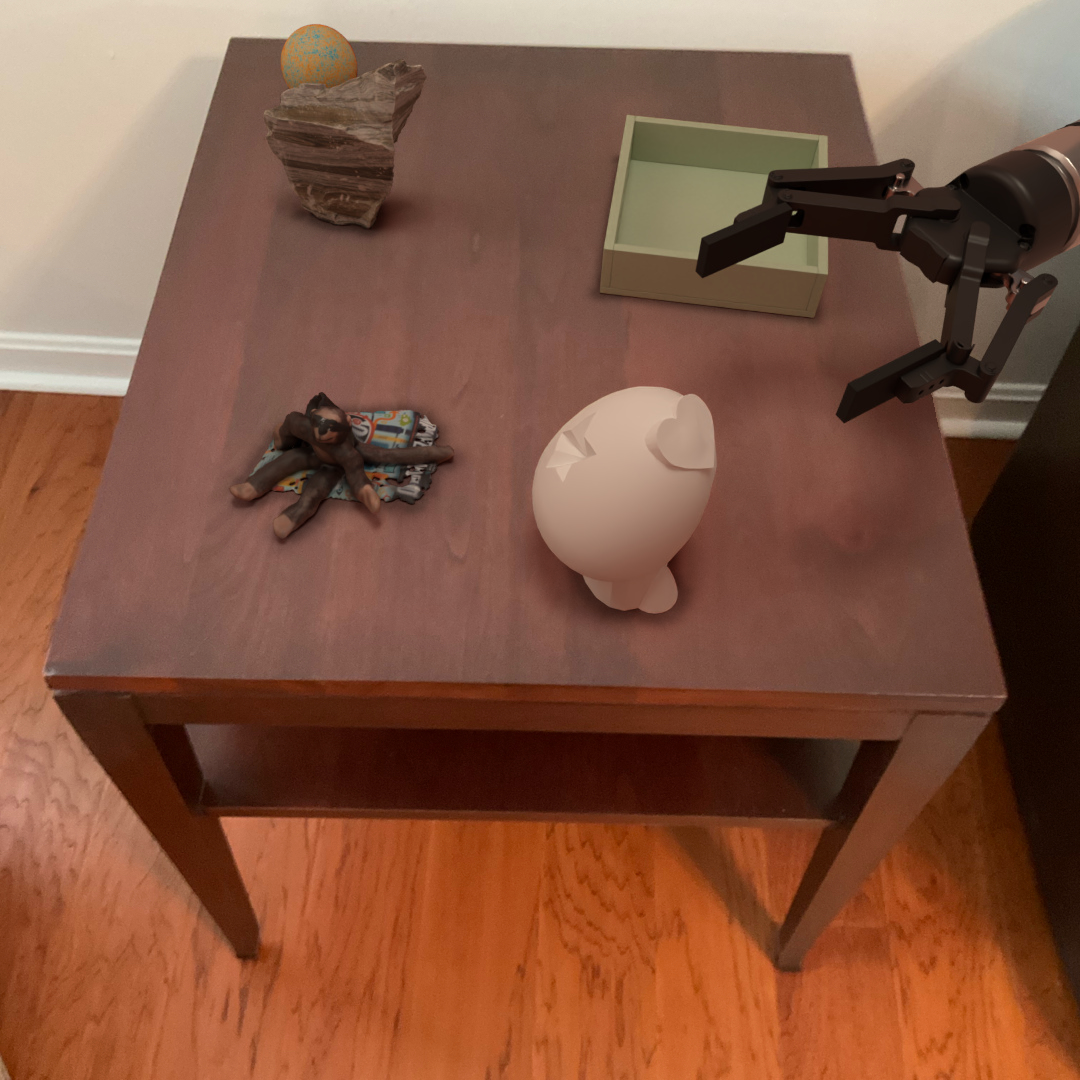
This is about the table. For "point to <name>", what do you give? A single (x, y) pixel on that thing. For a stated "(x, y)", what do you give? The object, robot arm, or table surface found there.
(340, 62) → the ball
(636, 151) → the tote
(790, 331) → the table surface
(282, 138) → the rock
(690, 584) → the table surface
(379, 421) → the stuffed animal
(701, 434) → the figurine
